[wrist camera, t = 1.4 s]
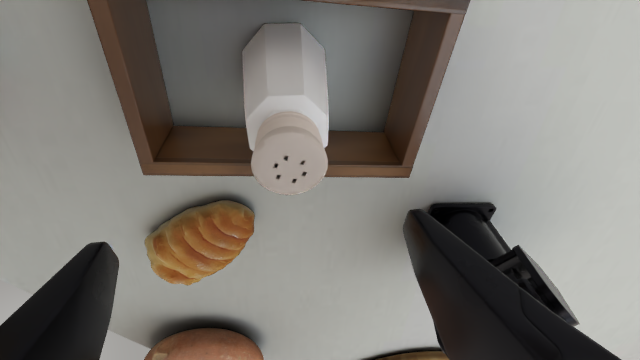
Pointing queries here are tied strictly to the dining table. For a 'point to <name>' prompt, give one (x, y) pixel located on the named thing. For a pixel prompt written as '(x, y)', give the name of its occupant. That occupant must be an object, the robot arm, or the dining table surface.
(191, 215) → the pastry
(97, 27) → the wooden box
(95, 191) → the dining table surface
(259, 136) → the pepper shaker
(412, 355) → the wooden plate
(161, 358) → the ceramic jug
